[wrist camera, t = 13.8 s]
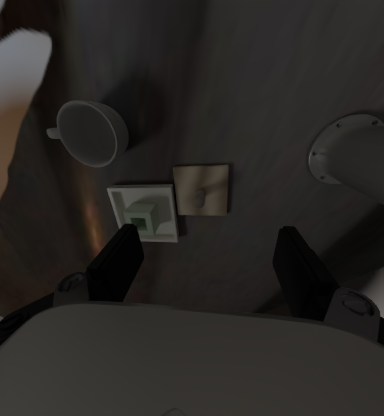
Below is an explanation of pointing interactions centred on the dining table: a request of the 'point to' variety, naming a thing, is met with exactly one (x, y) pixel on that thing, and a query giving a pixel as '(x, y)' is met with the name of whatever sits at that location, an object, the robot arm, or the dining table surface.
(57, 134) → the teacup
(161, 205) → the tray
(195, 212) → the wooden peg base
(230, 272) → the dining table surface
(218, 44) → the dining table surface
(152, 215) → the green hollow square block
